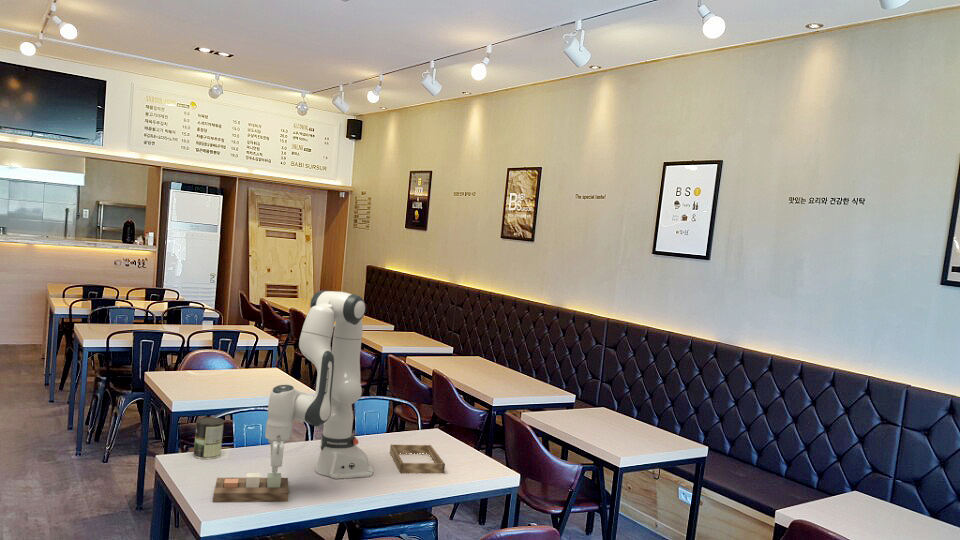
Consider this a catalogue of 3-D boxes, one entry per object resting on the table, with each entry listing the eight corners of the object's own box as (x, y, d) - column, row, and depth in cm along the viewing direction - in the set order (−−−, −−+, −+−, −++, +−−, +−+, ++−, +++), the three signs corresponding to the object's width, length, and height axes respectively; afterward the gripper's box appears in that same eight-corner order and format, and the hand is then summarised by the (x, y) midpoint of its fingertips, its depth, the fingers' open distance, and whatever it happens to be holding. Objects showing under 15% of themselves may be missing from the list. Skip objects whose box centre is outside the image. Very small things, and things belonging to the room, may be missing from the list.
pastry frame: (429, 454, 302) (430, 445, 302) (443, 473, 277) (444, 464, 277) (389, 453, 297) (390, 444, 297) (400, 473, 272) (401, 463, 272)
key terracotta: (237, 488, 236) (238, 478, 236) (236, 493, 232) (237, 482, 232) (224, 488, 235) (225, 478, 235) (223, 493, 231) (224, 483, 231)
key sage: (279, 483, 240) (280, 473, 240) (280, 487, 236) (281, 477, 236) (266, 483, 239) (267, 473, 239) (266, 487, 235) (267, 477, 235)
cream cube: (259, 483, 238) (260, 473, 238) (258, 487, 234) (259, 477, 234) (245, 483, 237) (246, 472, 237) (245, 487, 233) (246, 477, 233)
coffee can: (189, 458, 265) (192, 422, 265) (198, 450, 275) (201, 416, 275) (216, 460, 266) (219, 424, 265) (224, 452, 276) (227, 418, 276)
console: (287, 485, 246) (287, 477, 246) (288, 501, 232) (288, 492, 232) (216, 486, 239) (217, 477, 239) (212, 502, 225) (213, 493, 225)
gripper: (288, 441, 228) (284, 482, 228) (287, 424, 248) (283, 462, 248) (269, 440, 226) (264, 481, 226) (269, 424, 246) (265, 462, 246)
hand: (274, 471), depth 237 cm, fingers closed
